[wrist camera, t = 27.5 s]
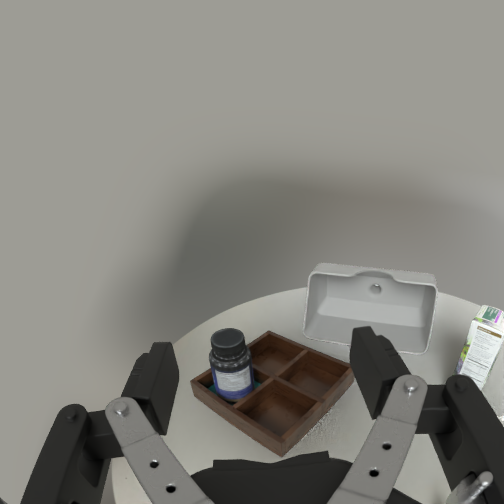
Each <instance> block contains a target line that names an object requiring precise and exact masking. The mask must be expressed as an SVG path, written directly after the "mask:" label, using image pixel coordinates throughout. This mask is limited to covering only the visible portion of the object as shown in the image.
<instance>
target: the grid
mask: <svg viewBox="0 0 504 504" xmlns="http://www.w3.org/2000/svg"><path fill="white" fill-rule="evenodd" d="M247 346H248V347H249V349H250V351H251V356H252V367H253V376H254V386H255V389H254V390H253V391H252V392H250V393H249V394H248V395H246V396H245V397H244V398H242V399H241V400H240V401H238V402H237V403H236V404H229V403H227V402H225V401H224V400H222V399H221V398H220V397H218V395H217V393H216V389H215V384H214V380H213V375H212V370H211V368H210V369H209V370H207V371H205V372H204V373H202V374H200V375H199V376H197V377H196V378H194V379H192V380H191V381H190V382H191V386H192V390H193V393H194V396H195V397H196V398H198V399H199V400H200V401H201V402H203V403H204V404H205V405H207V406H208V407H209V408H211V409H212V410H213V411H214V412H216V413H217V414H219V415H220V416H221V417H223V418H224V419H225V420H227V421H228V422H229V423H231V424H232V425H234V426H235V427H236V428H238V429H239V430H241V431H242V432H244V433H245V434H247V435H248V436H250V437H251V438H252V439H254V440H255V441H257V442H258V443H260V444H262V445H263V446H265V447H266V448H268V449H269V450H271V451H272V452H274V453H276V454H277V455H279V456H280V457H283V456H284V455H285V454H286V453H287V452H288V451H289V450H290V449H291V448H292V447H293V446H294V445H295V444H296V443H297V442H298V441H299V440H300V439H301V438H302V437H303V436H304V435H305V434H306V433H307V432H308V431H309V430H310V429H311V428H312V427H313V426H314V425H315V424H316V423H317V422H318V421H319V420H320V419H321V418H322V417H323V416H324V415H325V414H326V413H327V411H328V410H329V409H330V408H331V407H332V406H333V405H334V404H335V403H336V402H337V400H338V399H339V398H340V397H341V396H342V395H343V394H344V392H345V391H346V390H347V389H348V388H349V387H350V386H351V384H352V383H353V382H354V374H353V371H352V369H351V365H350V364H349V363H346V362H343V361H341V360H338V359H336V358H333V357H331V356H328V355H326V354H323V353H321V352H318V351H316V350H313V349H311V348H309V347H306V346H304V345H301V344H299V343H297V342H294V341H292V340H290V339H287V338H285V337H283V336H280V335H278V334H276V333H273V332H271V331H267V332H266V333H264V334H263V335H261V336H260V337H258V338H257V339H255V340H254V341H252V342H251V343H249V344H248V345H247Z"/></svg>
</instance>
